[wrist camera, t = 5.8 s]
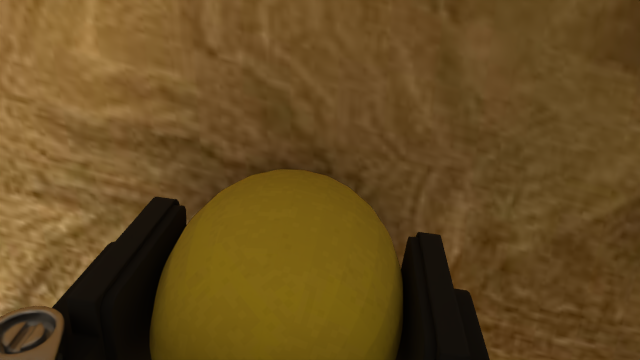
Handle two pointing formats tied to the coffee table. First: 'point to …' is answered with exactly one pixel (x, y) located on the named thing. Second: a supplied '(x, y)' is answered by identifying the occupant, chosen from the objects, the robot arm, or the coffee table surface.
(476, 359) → the robot arm
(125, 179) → the coffee table surface
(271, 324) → the lemon
